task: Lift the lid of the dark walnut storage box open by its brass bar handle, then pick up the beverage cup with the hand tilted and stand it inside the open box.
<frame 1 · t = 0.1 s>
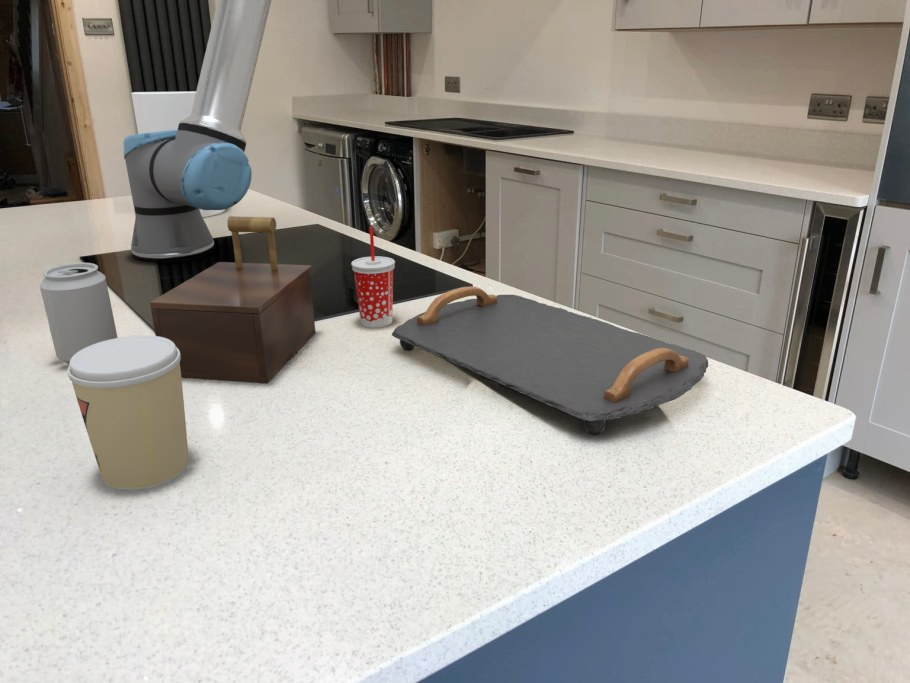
serving tray: (541, 365, 92), on the countertop
lid: (233, 258, 92), point 13 cm above the countertop, hinge at 0.0°
chest: (244, 353, 96), on the countertop
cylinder: (189, 212, 181), on the countertop
beverage cup: (376, 323, 107), on the countertop
coffee cup: (146, 470, 70), on the countertop
can: (89, 357, 96), on the countertop
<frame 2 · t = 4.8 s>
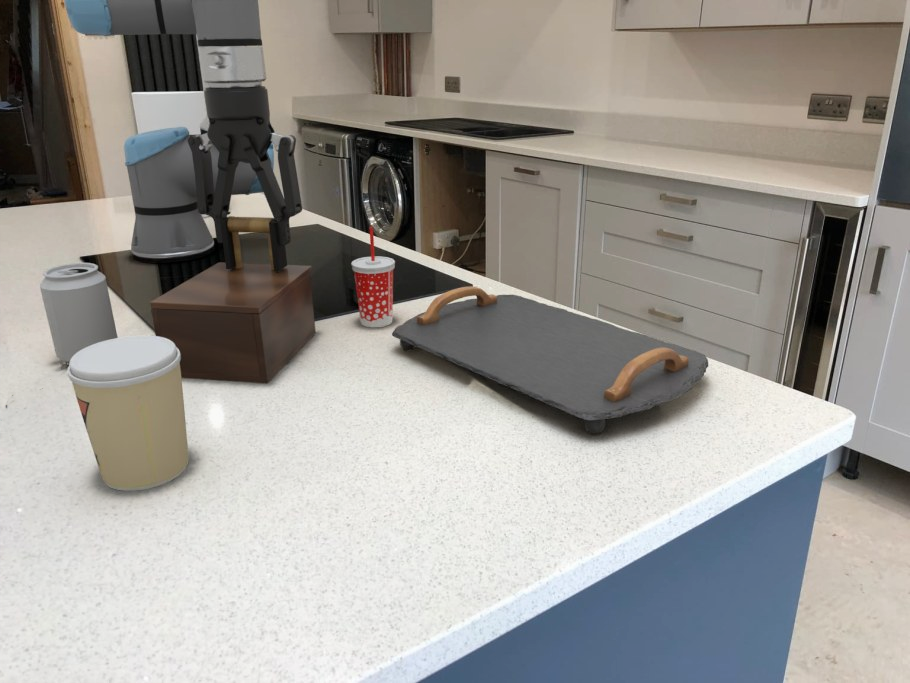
hand: (256, 266, 98), 10 cm above the countertop, tool pointing down, fingers closed on lid, 6 cm apart
lid: (233, 258, 92), point 13 cm above the countertop, hinge at -0.2°, touching gripper
everything else where it was.
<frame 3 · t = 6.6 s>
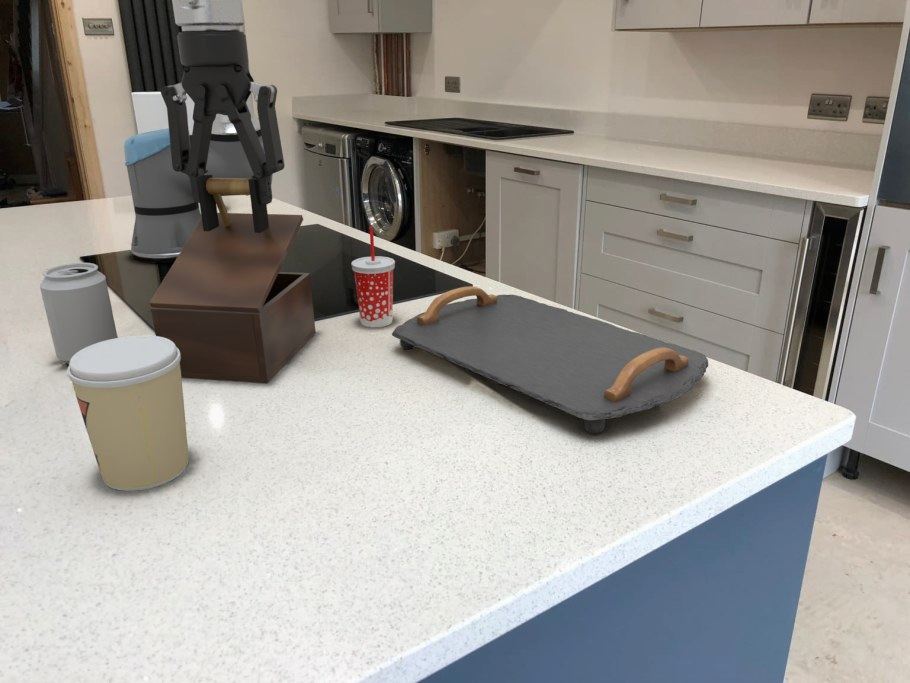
hand: (236, 229, 92), 16 cm above the countertop, tool pointing down, fingers closed on lid, 6 cm apart
lid: (221, 236, 88), point 16 cm above the countertop, hinge at 25.1°, touching gripper
everything else where it was.
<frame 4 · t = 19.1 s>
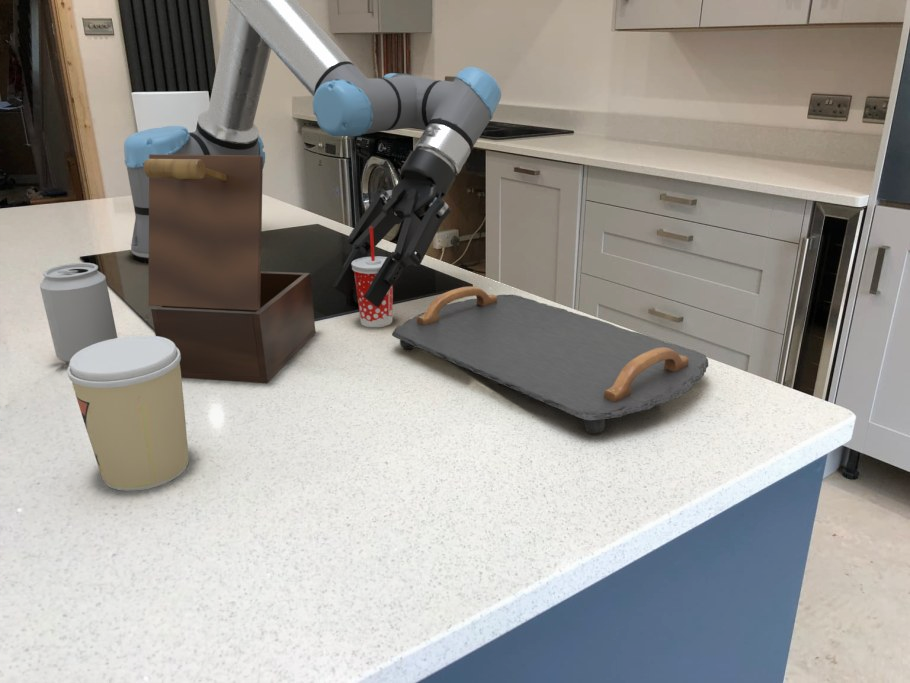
hand: (355, 296, 102), 5 cm above the countertop, tool tilted 45°, fingers closed on beverage cup, 6 cm apart
lid: (188, 230, 81), point 19 cm above the countertop, hinge at 72.4°
beverage cup: (376, 323, 107), on the countertop, touching gripper
everything else where it was.
when the fingers open (6 cm above the countertop, at t = 29.8 s): beverage cup stays where it is, resting on chest.
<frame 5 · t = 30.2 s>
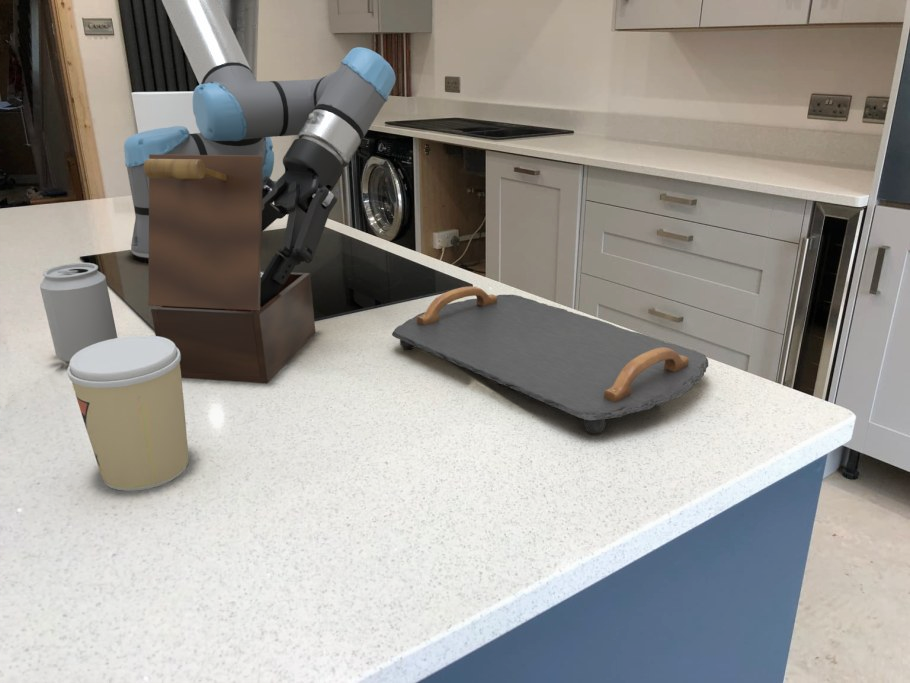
hand: (234, 295, 94), 8 cm above the countertop, tool tilted 45°, fingers open, 10 cm apart
beverage cup: (250, 343, 98), point 1 cm above the countertop, touching chest
everything else where it was.
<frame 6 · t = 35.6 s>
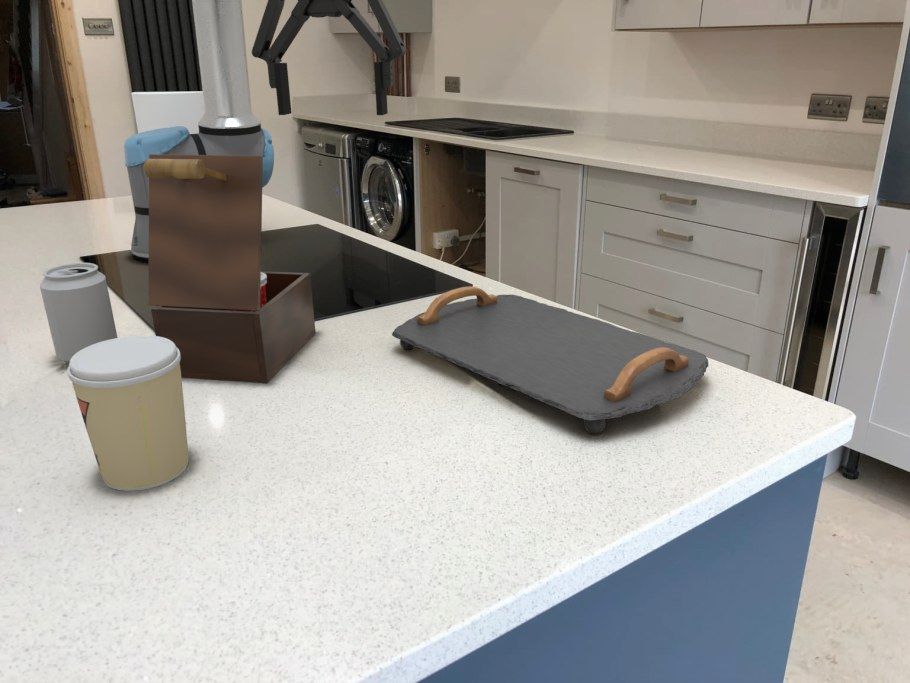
hand: (333, 114, 98), 29 cm above the countertop, tool pointing down, fingers open, 13 cm apart
nothing on the countertop moved.
at the end: lid at +72° (first picture: +0°); beverage cup inside the target area in the chest (2.0 cm from its centre), point 0.6 cm above the chest's base; beverage cup tilted 0° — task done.
